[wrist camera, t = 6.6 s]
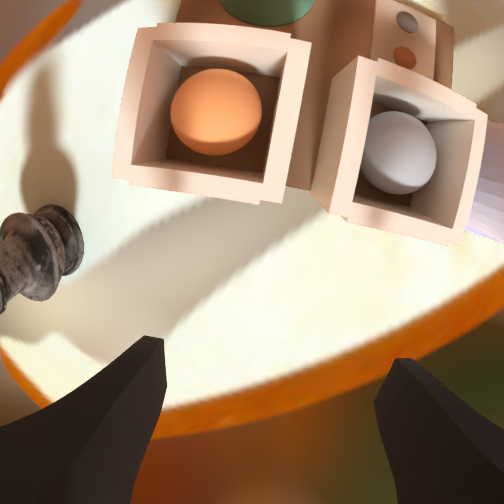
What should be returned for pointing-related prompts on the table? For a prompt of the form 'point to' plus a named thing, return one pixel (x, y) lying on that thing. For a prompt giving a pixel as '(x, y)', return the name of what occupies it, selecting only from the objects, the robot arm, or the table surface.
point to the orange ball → (216, 112)
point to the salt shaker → (37, 253)
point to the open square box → (441, 129)
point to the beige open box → (165, 87)
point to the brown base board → (321, 68)
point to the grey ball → (398, 153)
